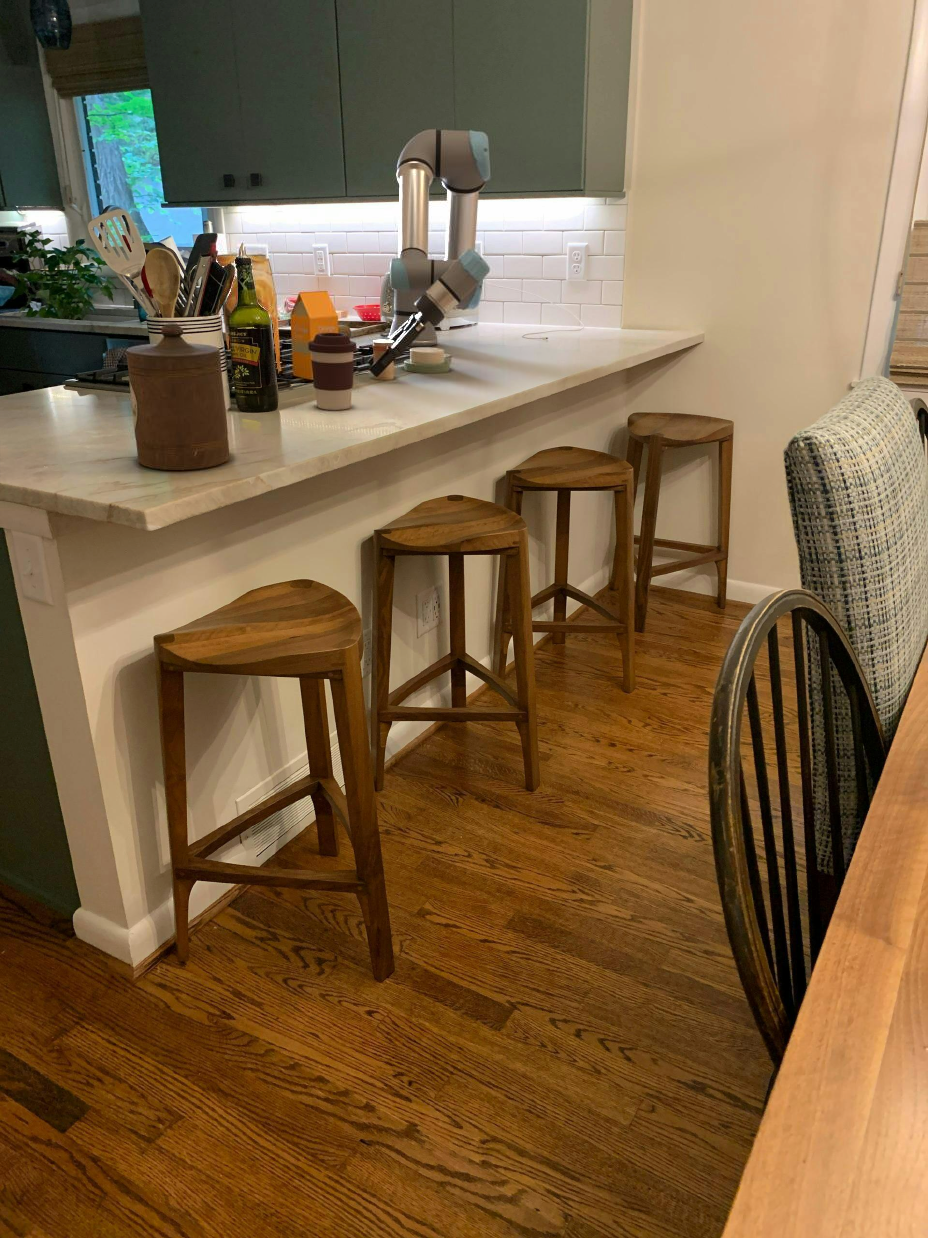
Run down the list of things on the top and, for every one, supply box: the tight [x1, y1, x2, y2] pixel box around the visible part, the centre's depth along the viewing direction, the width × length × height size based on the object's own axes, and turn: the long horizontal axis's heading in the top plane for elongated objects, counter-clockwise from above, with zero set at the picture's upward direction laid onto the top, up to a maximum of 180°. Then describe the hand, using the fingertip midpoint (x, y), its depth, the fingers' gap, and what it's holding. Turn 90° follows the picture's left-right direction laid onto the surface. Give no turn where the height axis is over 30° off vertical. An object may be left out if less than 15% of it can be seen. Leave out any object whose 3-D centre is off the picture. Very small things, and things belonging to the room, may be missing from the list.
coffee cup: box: [308, 333, 357, 411], centre depth 197 cm, size 10×10×15 cm
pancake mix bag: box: [217, 253, 282, 374], centre depth 226 cm, size 7×19×28 cm, turn 141°
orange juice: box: [290, 290, 339, 381], centre depth 229 cm, size 8×9×20 cm
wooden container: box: [126, 322, 230, 471], centre depth 153 cm, size 15×15×22 cm
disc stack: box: [403, 346, 451, 374], centre depth 246 cm, size 12×12×5 cm
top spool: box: [372, 339, 395, 381], centre depth 231 cm, size 5×5×9 cm
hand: (371, 369), depth 232 cm, fingers open, 10 cm apart
